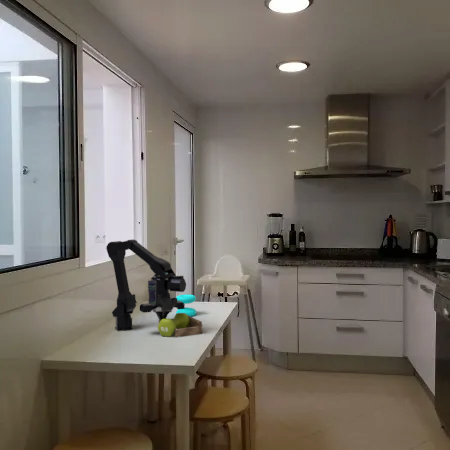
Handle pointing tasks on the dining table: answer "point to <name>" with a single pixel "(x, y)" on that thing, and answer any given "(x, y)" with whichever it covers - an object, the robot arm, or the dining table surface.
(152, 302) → the storage jar
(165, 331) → the dumbbell
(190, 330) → the walnut corral
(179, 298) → the donuts
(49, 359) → the dining table surface
